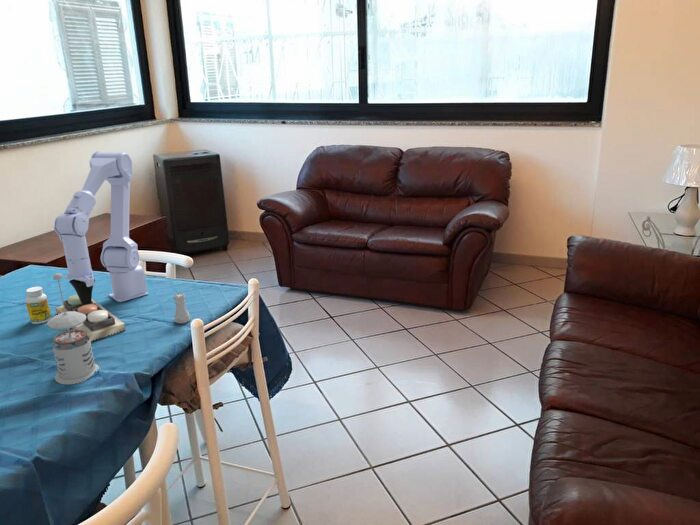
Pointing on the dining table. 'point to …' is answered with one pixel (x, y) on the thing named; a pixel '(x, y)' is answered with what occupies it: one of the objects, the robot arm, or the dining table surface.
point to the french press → (77, 359)
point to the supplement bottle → (37, 305)
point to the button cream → (97, 316)
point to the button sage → (73, 300)
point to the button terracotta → (87, 308)
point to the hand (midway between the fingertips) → (86, 303)
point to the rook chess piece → (181, 309)
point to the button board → (98, 328)
